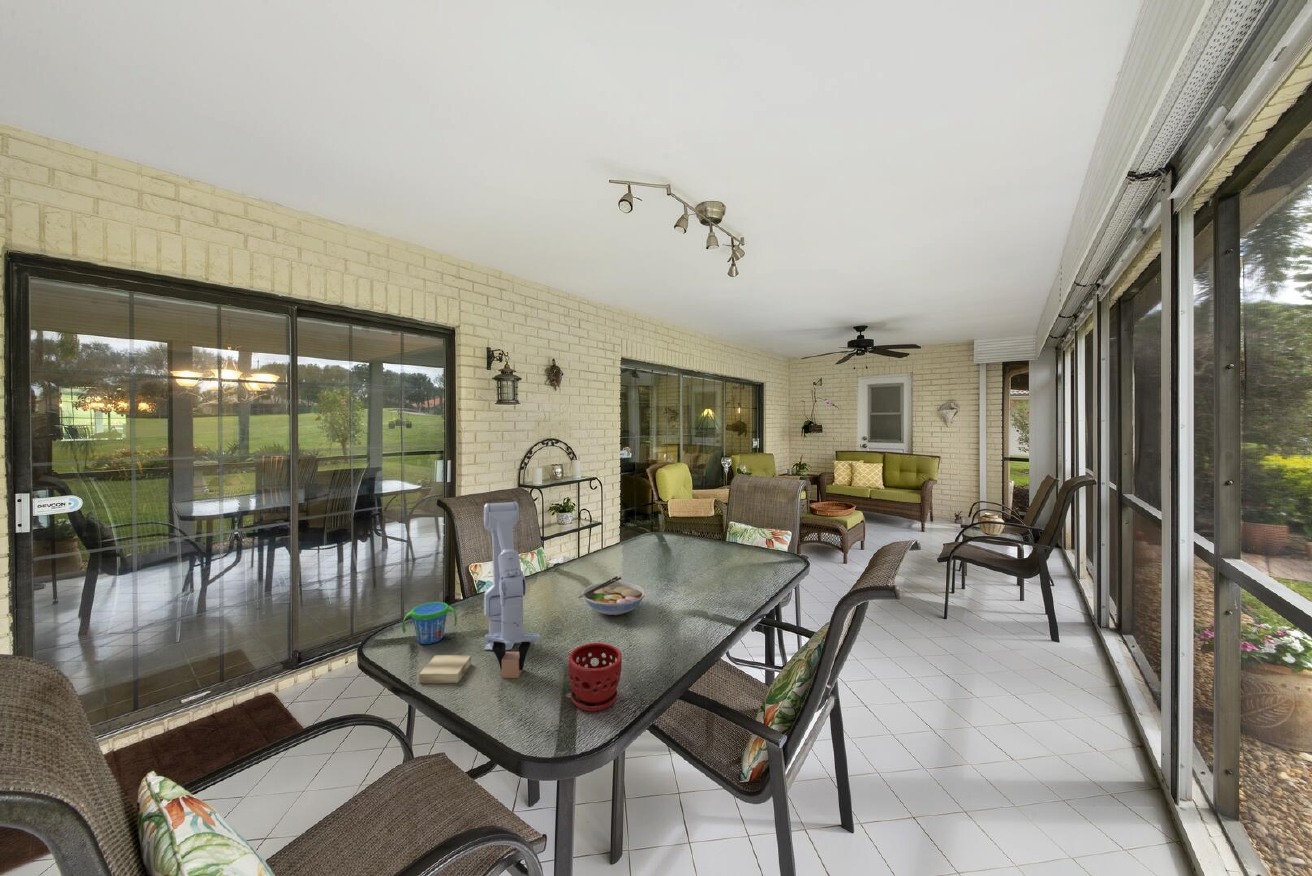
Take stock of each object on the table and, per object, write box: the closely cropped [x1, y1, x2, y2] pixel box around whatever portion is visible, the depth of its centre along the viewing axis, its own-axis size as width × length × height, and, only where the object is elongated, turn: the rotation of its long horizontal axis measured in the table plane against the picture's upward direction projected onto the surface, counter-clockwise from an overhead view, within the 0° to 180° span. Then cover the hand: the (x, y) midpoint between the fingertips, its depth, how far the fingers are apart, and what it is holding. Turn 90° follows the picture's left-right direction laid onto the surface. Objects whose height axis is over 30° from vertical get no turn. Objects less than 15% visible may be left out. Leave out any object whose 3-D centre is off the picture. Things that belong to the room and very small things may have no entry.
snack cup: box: [401, 601, 458, 645], centre depth 154 cm, size 16×10×10 cm
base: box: [418, 654, 472, 684], centre depth 134 cm, size 10×10×2 cm
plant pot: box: [568, 642, 623, 712], centre depth 122 cm, size 13×13×12 cm
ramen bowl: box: [577, 575, 646, 616], centre depth 178 cm, size 25×23×8 cm
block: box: [501, 651, 523, 679], centre depth 135 cm, size 4×4×5 cm
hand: (512, 668), depth 135 cm, fingers closed on block, 4 cm apart
